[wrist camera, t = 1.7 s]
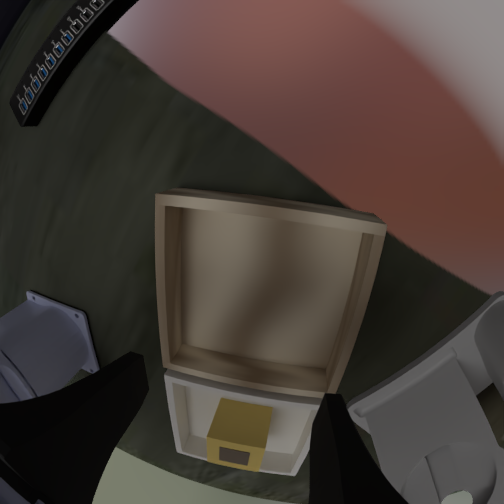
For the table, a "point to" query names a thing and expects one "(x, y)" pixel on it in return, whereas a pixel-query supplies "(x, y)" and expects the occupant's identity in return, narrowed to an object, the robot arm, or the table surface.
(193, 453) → the white tub
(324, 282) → the birch box
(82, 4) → the multiport hub
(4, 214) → the table surface
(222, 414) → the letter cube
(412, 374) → the phone holder
